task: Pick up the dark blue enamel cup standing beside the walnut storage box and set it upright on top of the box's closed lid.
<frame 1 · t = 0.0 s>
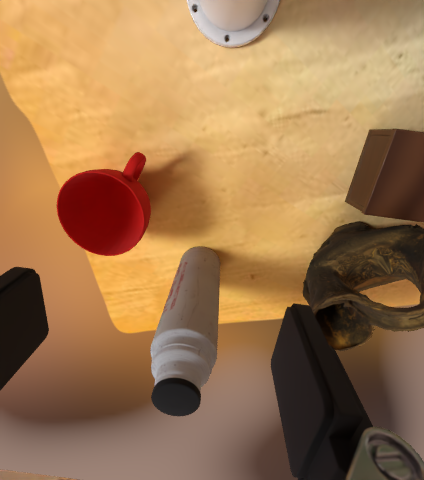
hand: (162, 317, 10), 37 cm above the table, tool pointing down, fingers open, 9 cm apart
box: (394, 172, 42), on the table
pottery vessel: (344, 248, 48), on the table
thermos bottle: (200, 263, 51), on the table
ceramic cup: (130, 190, 46), on the table
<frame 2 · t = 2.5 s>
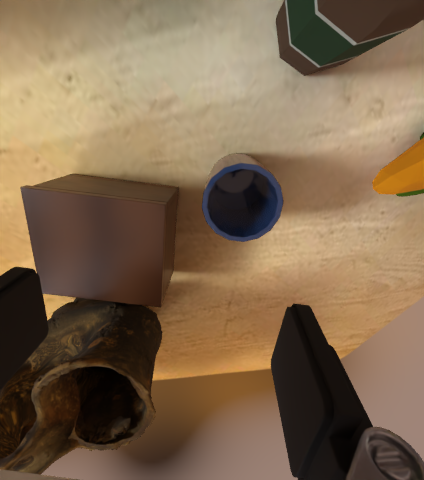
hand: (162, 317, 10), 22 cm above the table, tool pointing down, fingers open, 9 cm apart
box: (126, 226, 32), on the table
pottery vessel: (106, 313, 38), on the table
beer bottle: (314, 29, 24), on the table
box lid: (99, 251, 25), point 7 cm above the table, hinge at 0.0°
cup: (236, 183, 29), on the table
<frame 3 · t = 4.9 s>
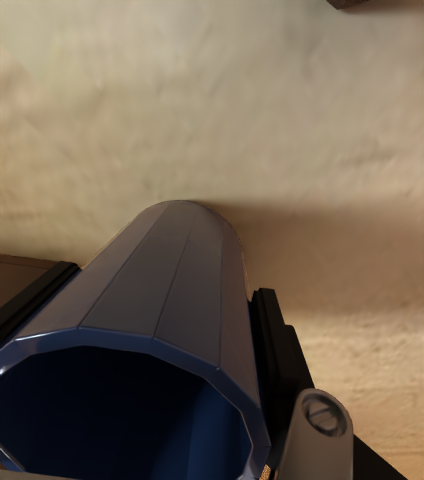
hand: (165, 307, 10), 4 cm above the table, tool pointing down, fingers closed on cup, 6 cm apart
cup: (182, 259, 14), on the table, touching gripper
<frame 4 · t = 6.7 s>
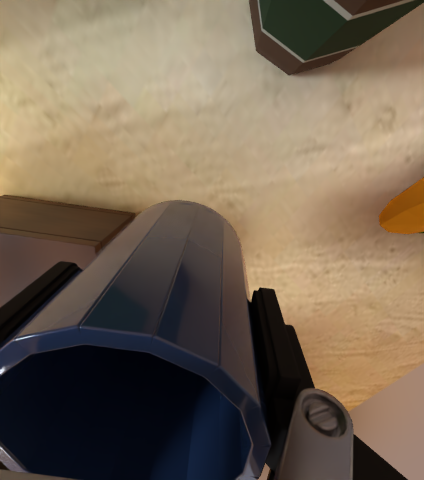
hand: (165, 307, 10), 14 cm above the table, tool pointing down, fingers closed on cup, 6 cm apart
box: (74, 257, 26), on the table
beer bottle: (301, 14, 18), on the table
box lid: (19, 299, 20), point 7 cm above the table, hinge at 0.0°
cup: (182, 259, 14), point 10 cm above the table, touching gripper
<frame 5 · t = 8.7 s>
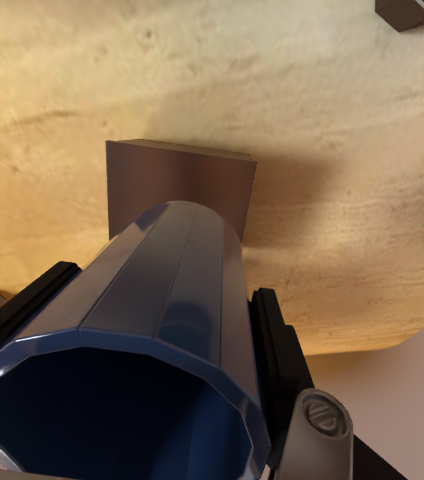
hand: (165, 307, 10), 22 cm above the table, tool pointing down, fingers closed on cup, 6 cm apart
box: (189, 196, 31), on the table
box lid: (177, 214, 24), point 7 cm above the table, hinge at 0.0°
cup: (182, 259, 14), point 18 cm above the table, touching gripper
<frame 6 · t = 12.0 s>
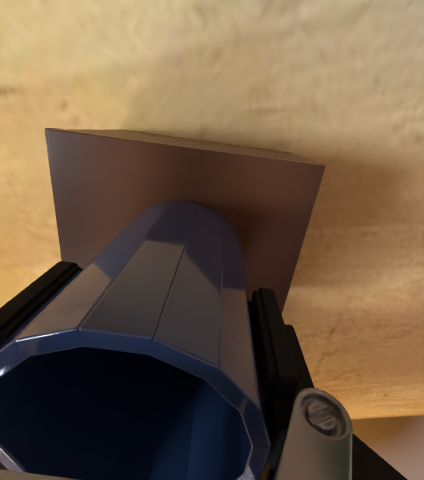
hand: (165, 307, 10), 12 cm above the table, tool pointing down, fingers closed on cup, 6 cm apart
box: (195, 215, 21), on the table
box lid: (177, 254, 14), point 7 cm above the table, hinge at -0.2°, touching box, cup
cup: (182, 259, 14), point 8 cm above the table, touching box lid, gripper
when the fingers open (12 cm above the table, at t = 12.3 s): cup stays where it is, resting on box lid.
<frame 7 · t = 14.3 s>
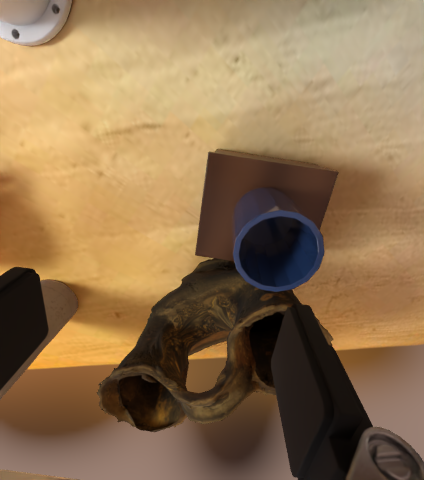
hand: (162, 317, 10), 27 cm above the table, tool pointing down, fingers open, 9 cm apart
box: (256, 200, 34), on the table
pottery vessel: (216, 286, 40), on the table
thermos bottle: (55, 298, 43), on the table
box lid: (260, 216, 28), point 7 cm above the table, hinge at -0.2°, touching box, cup
cup: (263, 218, 27), point 8 cm above the table, touching box lid
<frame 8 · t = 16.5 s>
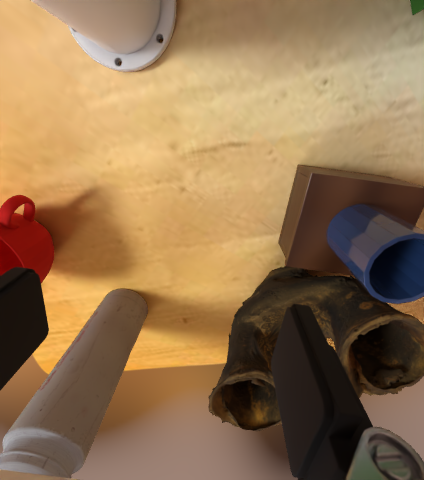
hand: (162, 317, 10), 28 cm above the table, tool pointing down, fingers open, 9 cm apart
box: (330, 211, 36), on the table
pottery vessel: (283, 291, 42), on the table
thermos bottle: (126, 306, 45), on the table
box lid: (352, 229, 30), point 7 cm above the table, hinge at -0.2°, touching box, cup
cup: (356, 231, 29), point 8 cm above the table, touching box lid
ceramic cup: (37, 228, 40), on the table
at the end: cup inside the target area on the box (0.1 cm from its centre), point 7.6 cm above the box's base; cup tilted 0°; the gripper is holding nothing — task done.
